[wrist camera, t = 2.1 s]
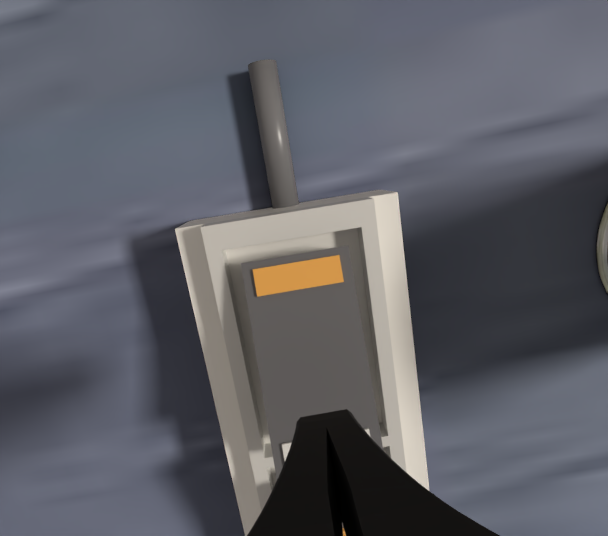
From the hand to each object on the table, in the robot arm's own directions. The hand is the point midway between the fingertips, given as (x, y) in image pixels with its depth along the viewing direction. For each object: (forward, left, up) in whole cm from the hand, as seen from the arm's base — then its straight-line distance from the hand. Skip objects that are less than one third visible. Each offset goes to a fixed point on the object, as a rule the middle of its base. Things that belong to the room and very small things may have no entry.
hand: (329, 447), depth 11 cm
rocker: (0, 0, -6) cm, 6 cm away
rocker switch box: (-2, 0, -10) cm, 11 cm away
